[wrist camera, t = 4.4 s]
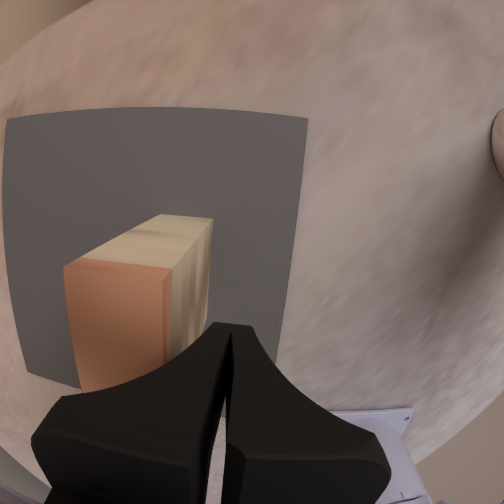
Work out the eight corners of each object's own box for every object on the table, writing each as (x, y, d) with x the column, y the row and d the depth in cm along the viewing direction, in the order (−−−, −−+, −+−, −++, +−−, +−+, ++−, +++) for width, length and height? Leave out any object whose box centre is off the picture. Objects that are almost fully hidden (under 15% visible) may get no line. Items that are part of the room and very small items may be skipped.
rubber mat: (264, 416, 21) (265, 420, 21) (29, 369, 21) (27, 371, 21) (307, 119, 16) (308, 118, 16) (10, 119, 16) (7, 119, 16)
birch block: (206, 318, 19) (168, 442, 9) (158, 312, 19) (90, 423, 9) (213, 218, 18) (162, 280, 8) (160, 214, 17) (63, 266, 8)
